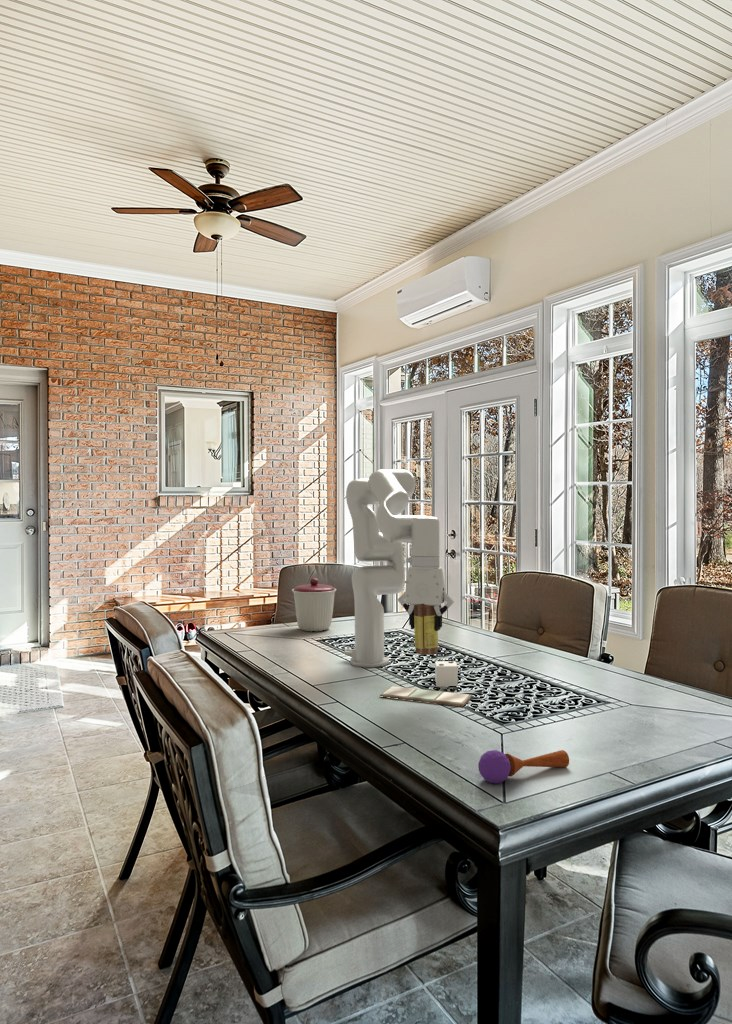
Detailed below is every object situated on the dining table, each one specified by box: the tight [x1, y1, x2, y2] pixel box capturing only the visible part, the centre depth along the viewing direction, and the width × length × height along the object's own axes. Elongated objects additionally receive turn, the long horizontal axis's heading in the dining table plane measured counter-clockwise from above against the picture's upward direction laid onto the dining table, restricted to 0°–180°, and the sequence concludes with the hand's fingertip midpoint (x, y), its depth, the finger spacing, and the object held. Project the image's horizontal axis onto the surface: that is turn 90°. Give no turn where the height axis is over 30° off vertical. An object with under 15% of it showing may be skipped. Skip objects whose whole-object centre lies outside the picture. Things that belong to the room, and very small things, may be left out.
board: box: [379, 685, 473, 708], centre depth 186 cm, size 23×9×1 cm, turn 68°
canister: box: [291, 577, 337, 632], centre depth 282 cm, size 18×18×21 cm
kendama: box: [477, 749, 570, 784], centre depth 135 cm, size 6×6×20 cm
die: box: [434, 660, 459, 688], centre depth 200 cm, size 6×6×6 cm
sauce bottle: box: [413, 604, 439, 656], centre depth 186 cm, size 6×6×20 cm
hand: (425, 628), depth 186 cm, fingers closed on sauce bottle, 6 cm apart
